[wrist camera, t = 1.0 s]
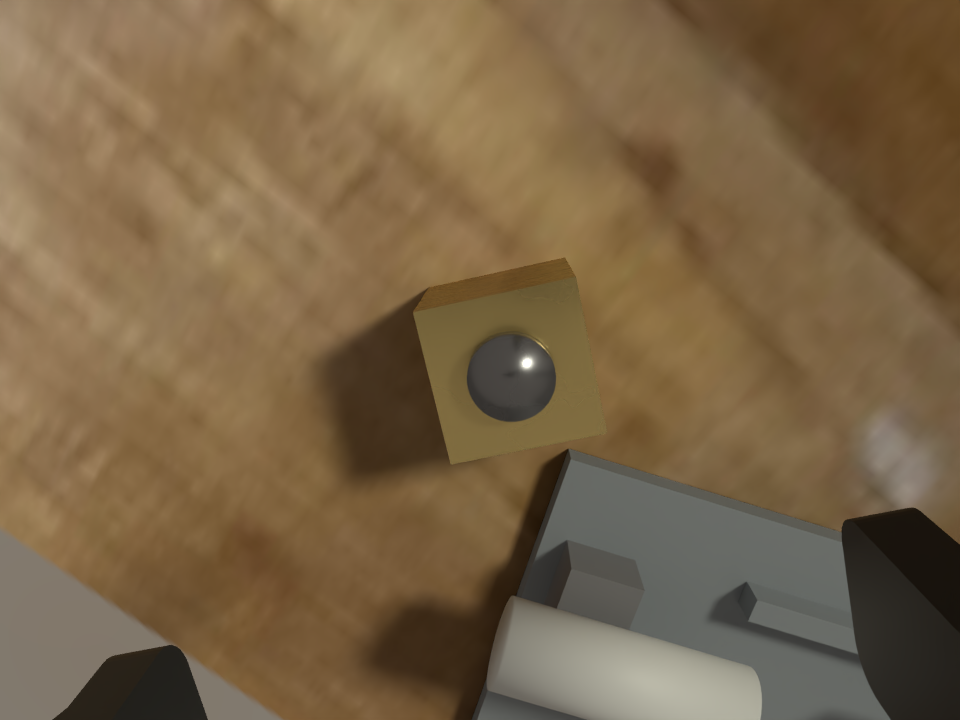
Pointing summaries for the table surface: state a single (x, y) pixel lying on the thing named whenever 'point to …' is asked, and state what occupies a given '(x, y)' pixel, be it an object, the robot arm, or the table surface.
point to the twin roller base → (674, 610)
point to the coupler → (509, 361)
